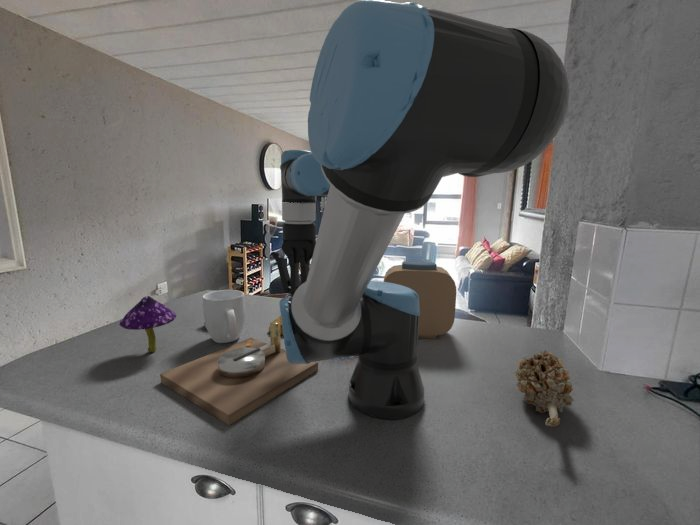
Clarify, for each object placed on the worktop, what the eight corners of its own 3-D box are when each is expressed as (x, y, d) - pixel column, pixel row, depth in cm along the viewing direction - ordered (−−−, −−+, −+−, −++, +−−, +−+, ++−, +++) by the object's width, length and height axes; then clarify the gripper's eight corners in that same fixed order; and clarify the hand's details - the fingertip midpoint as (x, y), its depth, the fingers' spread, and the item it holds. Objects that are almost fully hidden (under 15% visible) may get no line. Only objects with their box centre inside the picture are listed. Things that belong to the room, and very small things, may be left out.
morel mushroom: (508, 381, 73) (512, 338, 72) (557, 389, 70) (563, 345, 69) (526, 449, 53) (532, 393, 51) (597, 465, 50) (606, 405, 48)
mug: (255, 346, 90) (253, 299, 88) (212, 356, 84) (209, 306, 82) (240, 328, 102) (238, 287, 100) (202, 336, 96) (198, 292, 94)
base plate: (318, 370, 77) (318, 360, 77) (229, 425, 58) (228, 413, 57) (251, 344, 91) (250, 336, 90) (161, 382, 71) (160, 372, 71)
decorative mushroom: (129, 346, 89) (122, 292, 86) (180, 339, 94) (176, 287, 91) (117, 367, 78) (110, 305, 75) (177, 357, 83) (172, 300, 80)
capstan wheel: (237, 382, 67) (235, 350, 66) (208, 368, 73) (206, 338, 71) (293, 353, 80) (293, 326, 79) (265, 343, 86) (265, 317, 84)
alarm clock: (448, 328, 104) (452, 261, 100) (453, 341, 94) (458, 266, 91) (382, 324, 106) (384, 258, 103) (380, 336, 97) (383, 264, 93)
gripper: (331, 222, 77) (331, 317, 82) (279, 220, 80) (281, 313, 84) (321, 224, 70) (322, 329, 74) (265, 222, 73) (268, 323, 77)
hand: (300, 320), depth 79 cm, fingers closed
